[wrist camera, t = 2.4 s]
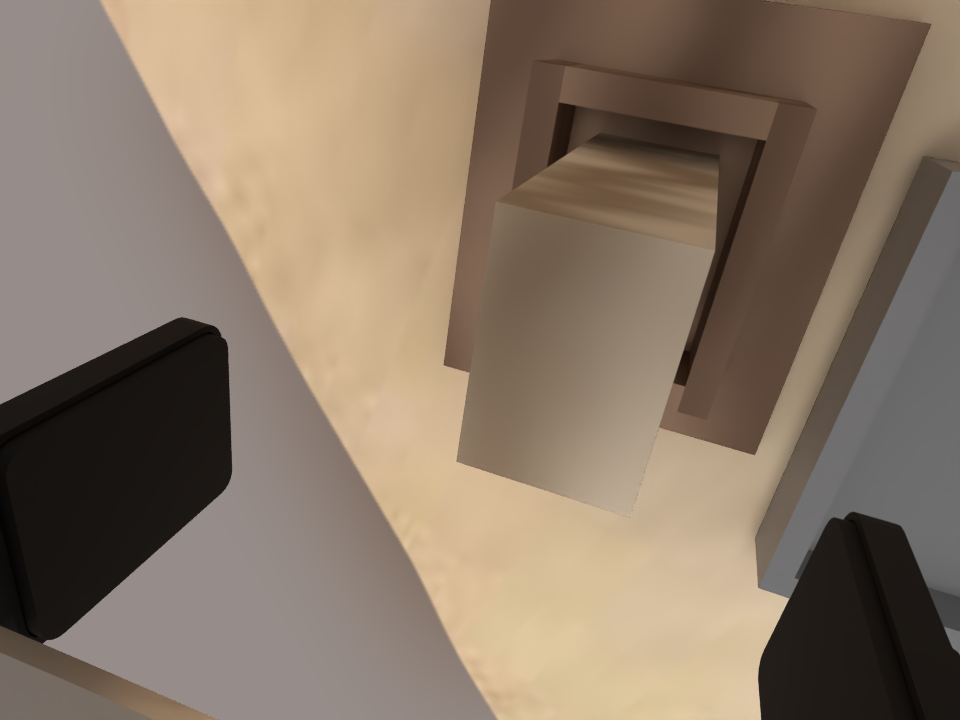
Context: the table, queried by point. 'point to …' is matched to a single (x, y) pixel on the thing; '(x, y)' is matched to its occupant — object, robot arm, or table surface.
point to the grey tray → (888, 409)
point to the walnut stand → (705, 128)
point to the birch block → (588, 316)
